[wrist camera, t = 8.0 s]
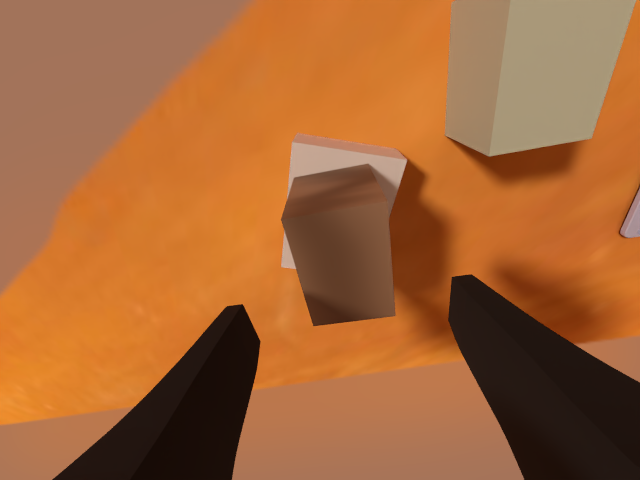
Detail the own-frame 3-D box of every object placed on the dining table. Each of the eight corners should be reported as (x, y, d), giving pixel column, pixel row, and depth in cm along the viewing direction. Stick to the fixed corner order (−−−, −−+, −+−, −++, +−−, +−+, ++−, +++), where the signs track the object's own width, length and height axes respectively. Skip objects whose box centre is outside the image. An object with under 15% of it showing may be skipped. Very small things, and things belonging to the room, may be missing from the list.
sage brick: (541, -19, 12) (659, -72, 8) (516, 121, 15) (591, 138, 11) (450, 3, 13) (515, -36, 8) (444, 135, 16) (488, 156, 11)
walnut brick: (368, 163, 14) (387, 201, 10) (377, 256, 17) (395, 316, 13) (293, 177, 14) (281, 219, 10) (316, 265, 17) (313, 326, 13)
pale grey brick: (394, 147, 16) (407, 159, 14) (364, 253, 20) (369, 278, 18) (297, 131, 16) (292, 141, 13) (287, 243, 20) (281, 267, 18)
